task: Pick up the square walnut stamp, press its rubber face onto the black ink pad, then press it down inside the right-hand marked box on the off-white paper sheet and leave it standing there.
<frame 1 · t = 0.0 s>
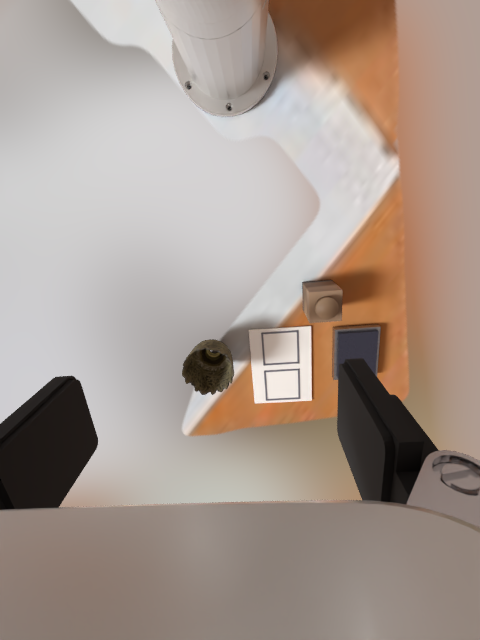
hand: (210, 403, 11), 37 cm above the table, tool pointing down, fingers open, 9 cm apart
sheet: (281, 366, 52), on the table
ink pad: (354, 350, 50), on the table
stamp: (316, 294, 47), on the table
carved brown lampshade: (214, 348, 51), on the table
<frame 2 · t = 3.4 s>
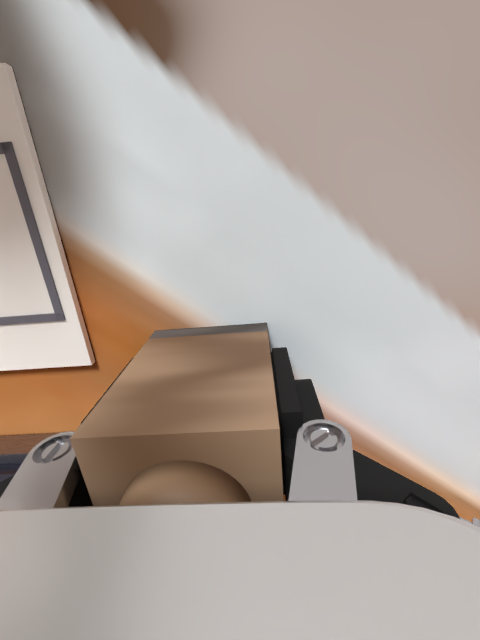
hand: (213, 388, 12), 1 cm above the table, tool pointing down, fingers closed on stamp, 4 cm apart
ink pad: (34, 491, 15), on the table
stamp: (216, 376, 13), on the table, touching gripper
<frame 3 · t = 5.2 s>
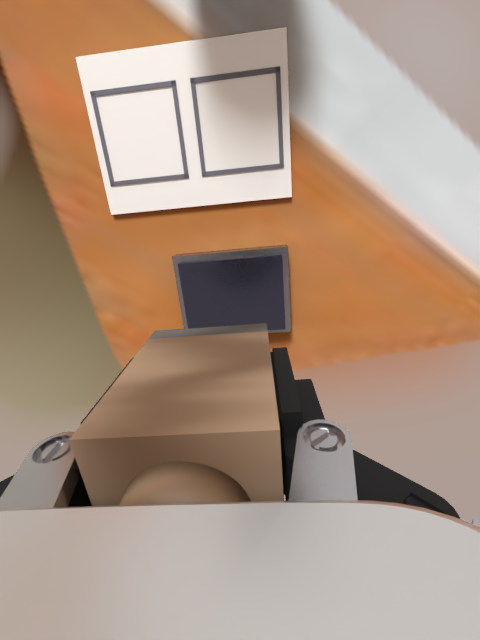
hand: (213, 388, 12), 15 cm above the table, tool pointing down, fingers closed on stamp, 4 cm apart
sheet: (190, 131, 22), on the table
ink pad: (234, 291, 26), on the table
stamp: (216, 376, 13), point 14 cm above the table, touching gripper
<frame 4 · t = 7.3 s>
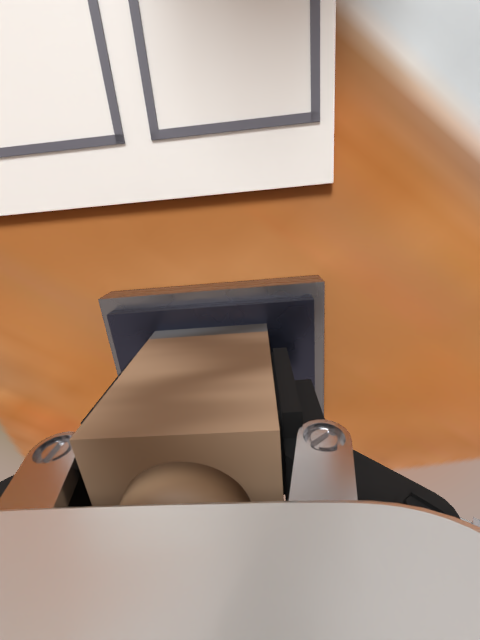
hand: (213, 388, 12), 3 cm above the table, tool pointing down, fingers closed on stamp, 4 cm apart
sheet: (123, 43, 10), on the table
ink pad: (221, 356, 14), on the table
stamp: (216, 376, 13), point 2 cm above the table, touching gripper, ink pad
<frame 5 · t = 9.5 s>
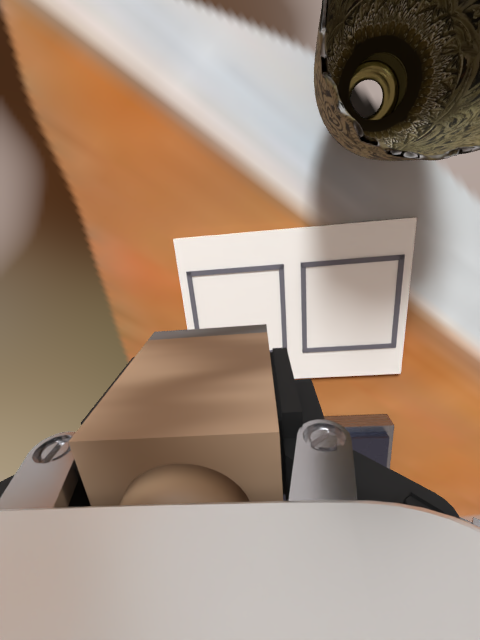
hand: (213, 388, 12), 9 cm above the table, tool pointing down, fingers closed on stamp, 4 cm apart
sheet: (293, 308, 20), on the table
ink pad: (323, 453, 24), on the table
stamp: (216, 377, 13), point 8 cm above the table, touching gripper
carved brown lampshade: (364, 100, 16), on the table
when the fingers open (1 cm above the table, at t = 11.1 s): stamp stays where it is, resting on sheet.
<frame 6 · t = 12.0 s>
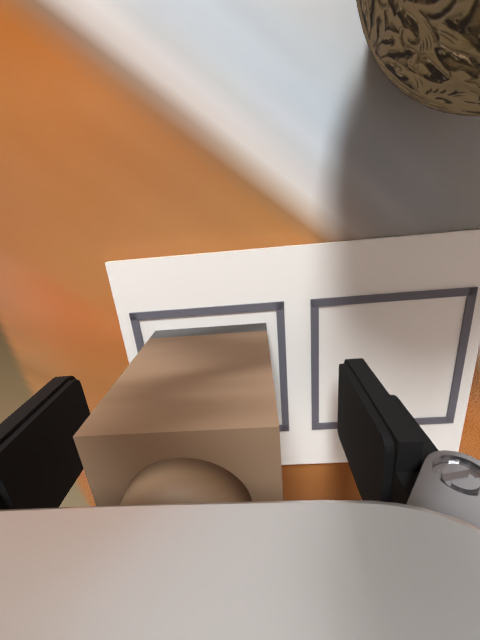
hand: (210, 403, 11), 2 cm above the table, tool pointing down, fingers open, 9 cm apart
sheet: (297, 366, 13), on the table
stamp: (216, 375, 13), resting on sheet
carved brown lampshade: (423, 25, 9), on the table
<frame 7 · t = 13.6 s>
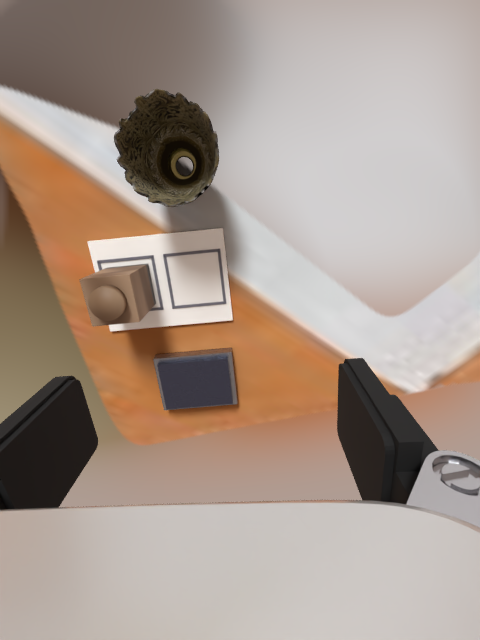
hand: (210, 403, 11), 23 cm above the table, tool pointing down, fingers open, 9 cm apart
sheet: (164, 282, 33), on the table
ink pad: (197, 377, 37), on the table
stamp: (132, 285, 33), resting on sheet
carved brown lampshade: (185, 166, 29), on the table
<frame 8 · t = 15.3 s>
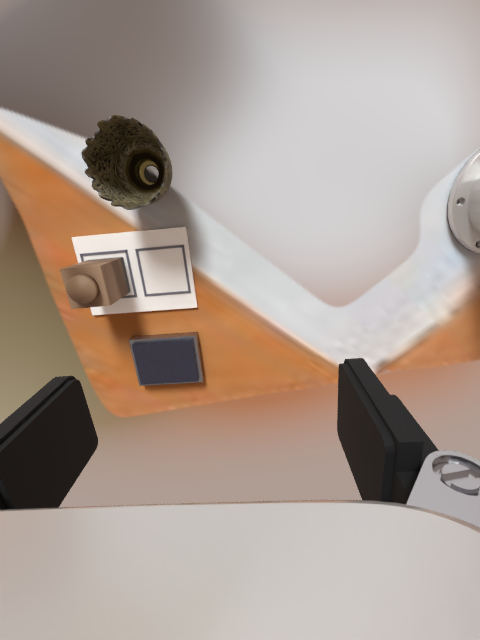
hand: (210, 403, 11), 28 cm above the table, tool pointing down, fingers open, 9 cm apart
sheet: (137, 273, 38), on the table
ink pad: (168, 357, 42), on the table
stamp: (109, 276, 38), resting on sheet
carved brown lampshade: (152, 173, 34), on the table
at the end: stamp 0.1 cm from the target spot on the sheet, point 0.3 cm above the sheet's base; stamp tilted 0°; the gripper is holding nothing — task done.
